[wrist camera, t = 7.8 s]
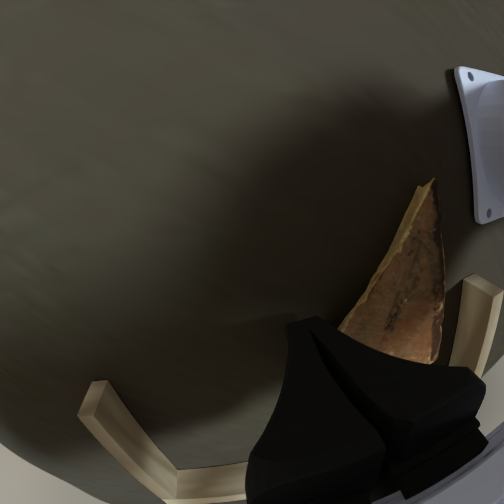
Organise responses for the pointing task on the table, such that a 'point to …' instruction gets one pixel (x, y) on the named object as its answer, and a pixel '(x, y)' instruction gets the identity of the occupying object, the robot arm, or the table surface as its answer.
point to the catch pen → (233, 476)
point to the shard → (406, 288)
